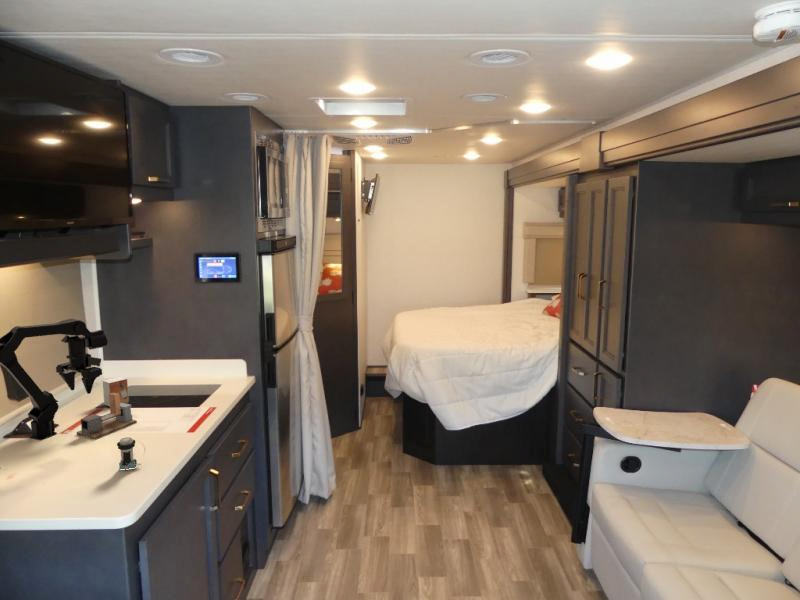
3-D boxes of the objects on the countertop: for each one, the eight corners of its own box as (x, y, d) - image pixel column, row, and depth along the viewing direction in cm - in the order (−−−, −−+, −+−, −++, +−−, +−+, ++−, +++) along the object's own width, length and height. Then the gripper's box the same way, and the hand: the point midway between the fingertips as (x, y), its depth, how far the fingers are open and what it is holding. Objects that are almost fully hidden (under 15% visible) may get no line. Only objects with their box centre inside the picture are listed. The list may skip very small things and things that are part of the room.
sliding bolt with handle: (96, 425, 215) (94, 402, 213) (90, 424, 216) (88, 400, 215) (128, 413, 227) (126, 391, 226) (122, 412, 229) (120, 390, 227)
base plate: (95, 439, 211) (95, 436, 211) (76, 434, 215) (76, 432, 215) (136, 422, 227) (136, 420, 227) (118, 418, 231) (118, 416, 231)
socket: (126, 422, 225) (124, 407, 224) (115, 419, 228) (114, 404, 227) (132, 419, 228) (131, 404, 227) (122, 417, 230) (121, 402, 229)
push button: (143, 464, 191) (141, 435, 190) (138, 472, 186) (136, 442, 184) (122, 465, 190) (120, 436, 189) (116, 473, 185) (114, 443, 184)
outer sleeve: (89, 435, 212) (88, 421, 211) (81, 433, 214) (80, 419, 213) (102, 430, 217) (101, 416, 216) (95, 428, 219) (94, 414, 218)
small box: (110, 407, 244) (108, 383, 242) (103, 404, 247) (101, 380, 246) (129, 402, 250) (127, 378, 249) (122, 399, 254) (120, 376, 252)
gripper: (113, 350, 224) (116, 389, 227) (80, 344, 232) (83, 382, 234) (86, 356, 214) (90, 397, 217) (53, 351, 222) (57, 390, 225)
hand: (80, 391), depth 223 cm, fingers open, 9 cm apart
